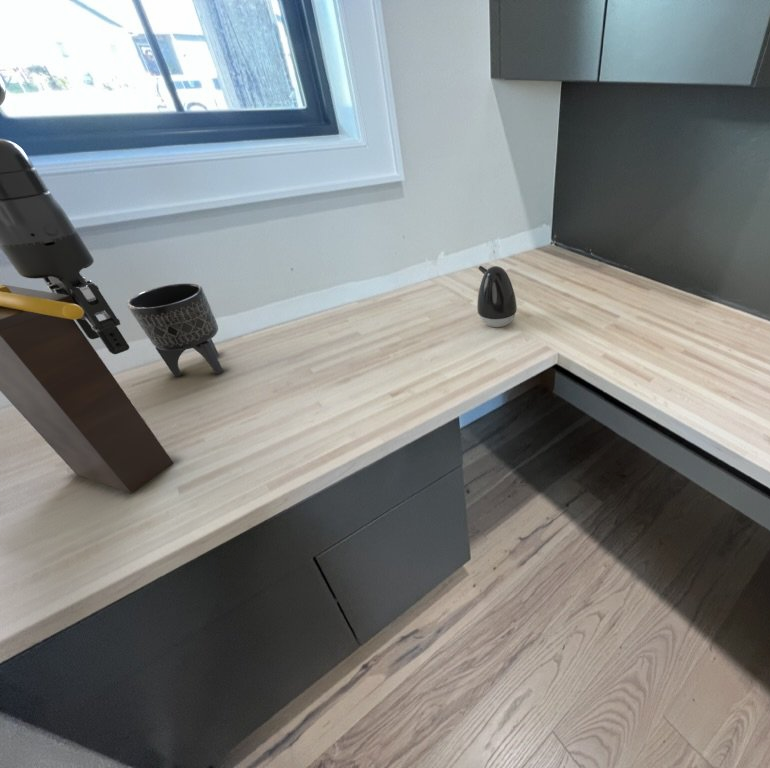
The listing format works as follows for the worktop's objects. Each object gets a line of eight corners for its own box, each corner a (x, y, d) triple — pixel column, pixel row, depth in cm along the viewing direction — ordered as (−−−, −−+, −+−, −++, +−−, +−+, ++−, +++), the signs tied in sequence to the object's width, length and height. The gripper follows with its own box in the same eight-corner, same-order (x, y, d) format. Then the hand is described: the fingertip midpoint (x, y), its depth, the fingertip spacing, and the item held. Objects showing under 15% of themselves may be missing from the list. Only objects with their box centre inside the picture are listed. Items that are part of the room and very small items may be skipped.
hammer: (-59, 305, 53) (-71, 291, 52) (-14, 291, 56) (-24, 278, 55) (60, 328, 46) (50, 313, 45) (103, 311, 50) (94, 297, 49)
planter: (171, 391, 88) (124, 314, 78) (169, 364, 97) (127, 293, 87) (239, 370, 94) (204, 297, 84) (232, 347, 103) (199, 278, 93)
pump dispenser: (495, 310, 117) (492, 256, 108) (524, 320, 111) (524, 264, 102) (469, 324, 110) (464, 268, 101) (500, 335, 105) (497, 277, 96)
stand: (68, 479, 68) (-89, 311, 51) (124, 442, 75) (3, 284, 58) (127, 499, 65) (-20, 326, 47) (181, 459, 72) (70, 295, 54)
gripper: (-20, 233, 54) (61, 342, 64) (12, 250, 48) (97, 369, 57) (55, 220, 59) (119, 323, 69) (93, 233, 53) (158, 345, 62)
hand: (109, 343), depth 63 cm, fingers open, 8 cm apart
